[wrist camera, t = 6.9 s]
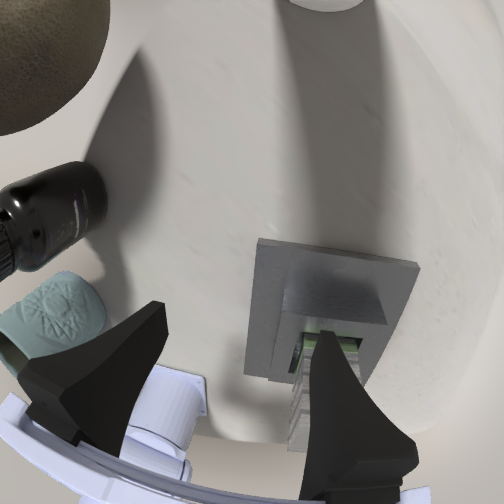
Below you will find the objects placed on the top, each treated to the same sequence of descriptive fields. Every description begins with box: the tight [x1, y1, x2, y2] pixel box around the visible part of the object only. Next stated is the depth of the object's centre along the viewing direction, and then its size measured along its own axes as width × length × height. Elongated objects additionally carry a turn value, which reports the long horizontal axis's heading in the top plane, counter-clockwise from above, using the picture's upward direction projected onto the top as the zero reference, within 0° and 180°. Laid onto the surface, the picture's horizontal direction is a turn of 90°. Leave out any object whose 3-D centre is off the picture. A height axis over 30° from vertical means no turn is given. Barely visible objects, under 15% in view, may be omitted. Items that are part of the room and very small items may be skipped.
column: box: [288, 334, 362, 452], centre depth 18 cm, size 4×4×8 cm
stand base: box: [244, 238, 421, 387], centre depth 23 cm, size 15×13×5 cm
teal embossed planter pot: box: [0, 271, 106, 379], centre depth 24 cm, size 10×10×12 cm
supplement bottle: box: [0, 161, 107, 282], centre depth 17 cm, size 7×7×12 cm
